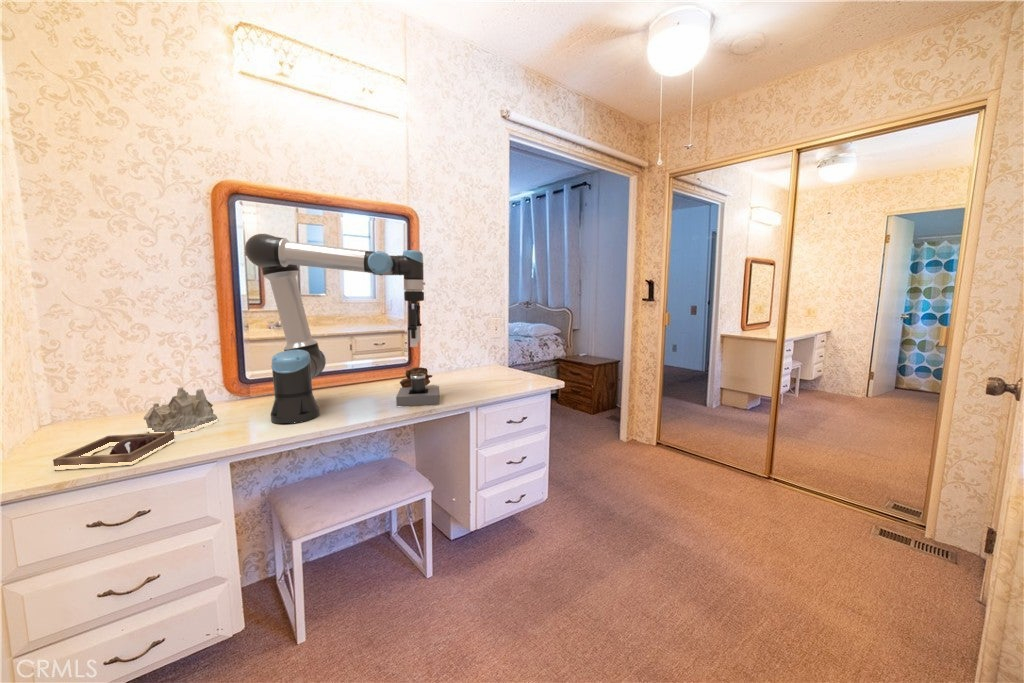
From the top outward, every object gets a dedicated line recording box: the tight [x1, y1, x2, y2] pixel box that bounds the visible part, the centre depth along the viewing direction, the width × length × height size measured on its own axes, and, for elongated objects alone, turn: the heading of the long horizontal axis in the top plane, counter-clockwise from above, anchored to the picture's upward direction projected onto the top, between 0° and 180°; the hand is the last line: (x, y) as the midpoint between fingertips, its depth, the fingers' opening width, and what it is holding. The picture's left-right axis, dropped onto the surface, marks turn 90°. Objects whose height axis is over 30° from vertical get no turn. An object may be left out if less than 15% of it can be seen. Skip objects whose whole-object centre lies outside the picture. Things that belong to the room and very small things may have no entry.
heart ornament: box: [108, 436, 157, 455], centre depth 107 cm, size 6×12×11 cm
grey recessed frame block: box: [395, 385, 440, 407], centre depth 156 cm, size 16×14×4 cm
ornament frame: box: [52, 432, 175, 467], centre depth 106 cm, size 17×16×3 cm
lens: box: [411, 373, 426, 394], centre depth 156 cm, size 6×6×10 cm
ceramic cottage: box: [143, 387, 218, 432], centre depth 127 cm, size 16×16×15 cm
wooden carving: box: [399, 366, 433, 388], centre depth 174 cm, size 16×5×10 cm, turn 143°
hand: (415, 344), depth 154 cm, fingers open, 13 cm apart
